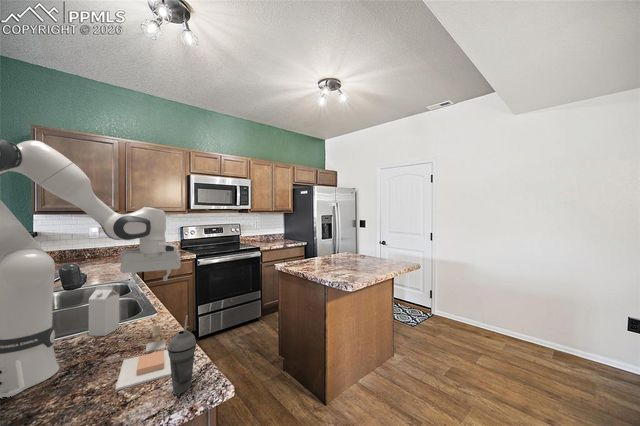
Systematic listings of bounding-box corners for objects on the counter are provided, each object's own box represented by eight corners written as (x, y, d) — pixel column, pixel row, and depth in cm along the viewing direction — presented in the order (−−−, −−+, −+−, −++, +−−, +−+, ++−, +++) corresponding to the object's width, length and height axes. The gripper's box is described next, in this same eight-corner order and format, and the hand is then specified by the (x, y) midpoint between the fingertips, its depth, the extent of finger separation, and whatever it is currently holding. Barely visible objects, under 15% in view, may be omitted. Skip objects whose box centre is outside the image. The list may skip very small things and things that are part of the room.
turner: (145, 353, 92) (145, 344, 92) (148, 334, 106) (148, 327, 106) (165, 348, 95) (165, 340, 95) (165, 331, 109) (165, 324, 109)
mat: (115, 390, 72) (115, 388, 72) (123, 361, 86) (123, 359, 86) (173, 374, 79) (173, 372, 79) (172, 350, 94) (171, 348, 94)
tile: (139, 361, 85) (136, 376, 77) (139, 356, 85) (136, 369, 77) (163, 355, 89) (163, 368, 81) (163, 350, 89) (163, 363, 81)
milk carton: (103, 328, 112) (103, 284, 113) (119, 328, 112) (119, 284, 112) (88, 336, 105) (88, 289, 105) (105, 336, 105) (105, 289, 105)
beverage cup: (169, 382, 75) (169, 313, 76) (197, 376, 78) (197, 310, 78) (164, 398, 68) (164, 323, 69) (195, 392, 71) (195, 318, 71)
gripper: (118, 249, 96) (117, 287, 95) (181, 247, 106) (180, 281, 106) (121, 247, 101) (120, 283, 101) (180, 245, 112) (179, 278, 111)
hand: (151, 282), depth 103 cm, fingers open, 8 cm apart
